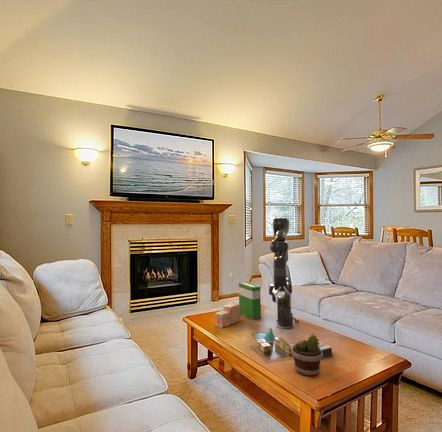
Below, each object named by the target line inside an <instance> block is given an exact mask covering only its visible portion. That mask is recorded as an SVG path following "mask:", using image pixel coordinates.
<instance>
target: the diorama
mask: <svg viewBox="0 0 442 432" xmlns="http://www.w3.org/2000/svg"><path fill="white" fill-rule="evenodd" d="M273 333H274V332H273V330H272V327H269V330H267V331H266V333H259V332H258V333H256V334H254V335H253V336H254V338H255V340H258V339H264V340H265V341H269V342H274V341H275V336H274V334H273Z"/></svg>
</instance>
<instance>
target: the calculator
mask: <svg viewBox="0 0 442 432" xmlns="http://www.w3.org/2000/svg"><path fill="white" fill-rule="evenodd" d="M301 341H302V342H303V341H304V340H301ZM301 341H298V342H297V343H299V342H300V343H302V342H301ZM318 347H320V350H321V351H322V352H323V354H324V355H323V358H326V357H329V356H332V355H333V348H332V347H331V346H329V345H326V344H324V343H322V342H319V344H318Z"/></svg>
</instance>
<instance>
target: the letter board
mask: <svg viewBox="0 0 442 432" xmlns="http://www.w3.org/2000/svg"><path fill="white" fill-rule="evenodd" d="M289 344H291V343H290V342H289V341H288V340H286V339H285V338H283V336H277V337H274V341H269V342H267V340H266V339H255V343H254V344H251V346H252V348H253V349H254V350H255V351H257V352H258V353H259V354H260V355H261V356H262V357H263V358H264V359H265V360H266V361H273V360H279V359H286V358H292V357H293V358H294V356H293V355H292V354H288V353H287V352H286V351H285V349H284V345H289Z"/></svg>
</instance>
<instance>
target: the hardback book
mask: <svg viewBox="0 0 442 432" xmlns="http://www.w3.org/2000/svg"><path fill="white" fill-rule="evenodd" d="M261 293H262V292H261V286H260V285H257V284H255V283H251V282H249V281H245V282H238V304H240V315H241V316H244V317H247V318H248V319H250V320H253V321H255V320H258V319H262V302H261V301H262V300H261V298H262V297H261Z"/></svg>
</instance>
